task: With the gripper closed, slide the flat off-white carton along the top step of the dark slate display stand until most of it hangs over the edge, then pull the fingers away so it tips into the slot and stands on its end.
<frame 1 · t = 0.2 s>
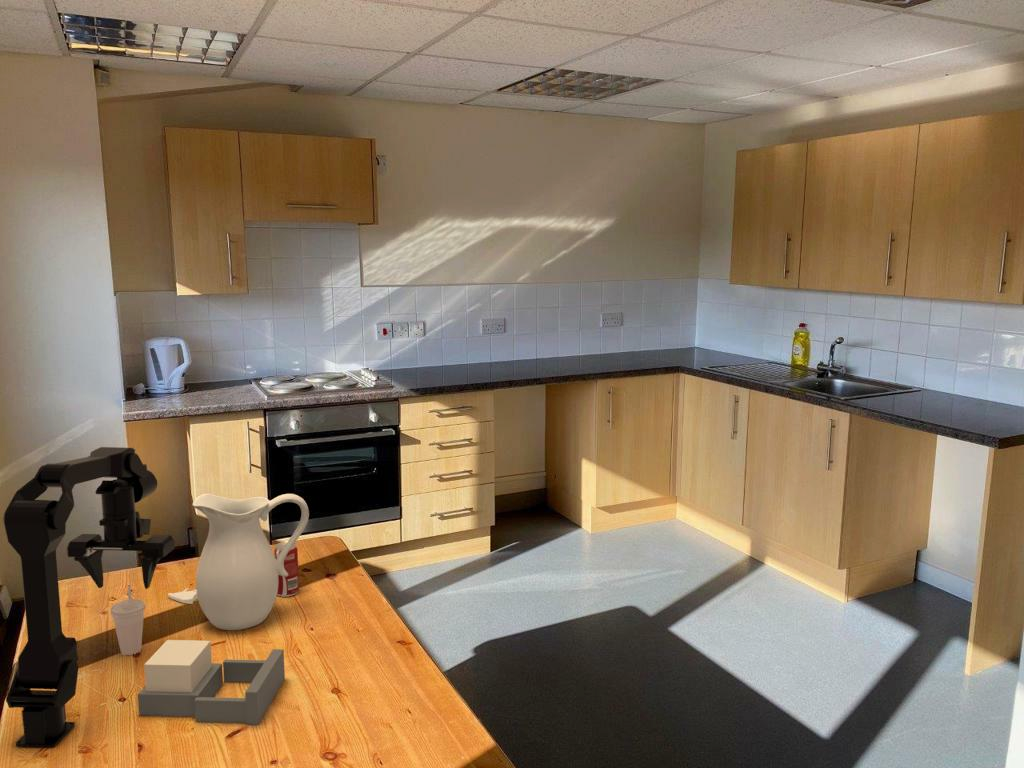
hand: (124, 587, 160), 14 cm above the table, tool pointing down, fingers open, 9 cm apart
smoothie: (131, 652, 164), on the table
pitcher: (256, 618, 179), on the table
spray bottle: (222, 587, 197), on the table
display stand: (200, 699, 147), on the table
soda can: (287, 594, 192), on the table
carton: (179, 678, 146), point 4 cm above the table, touching display stand
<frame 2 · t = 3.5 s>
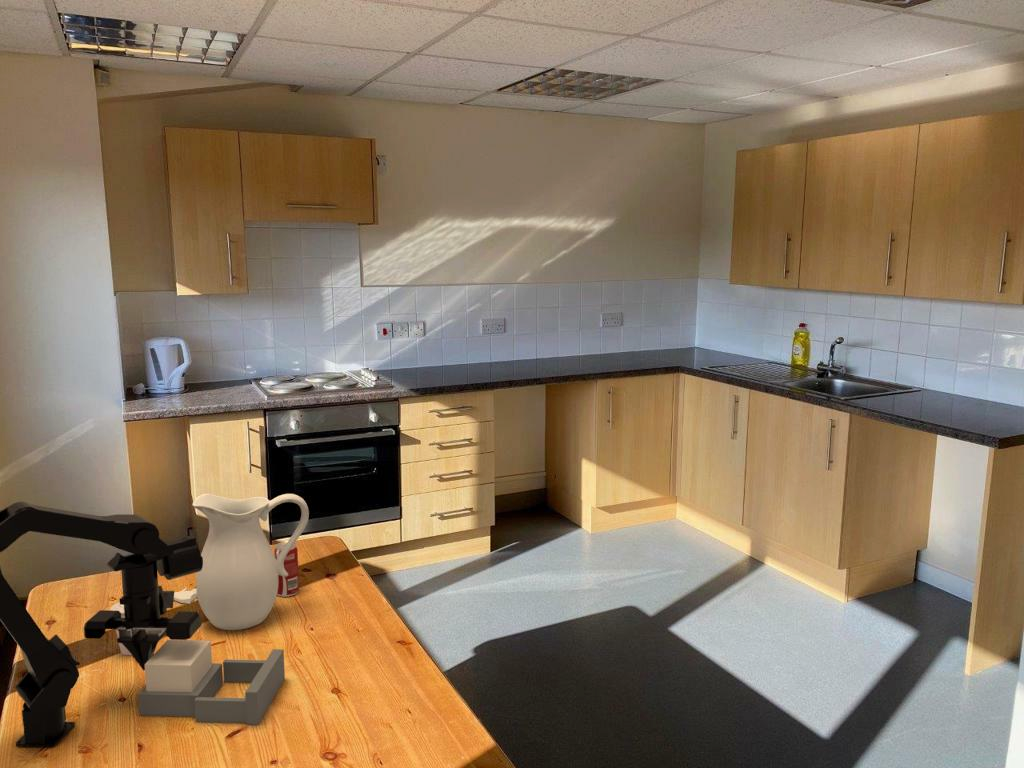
hand: (146, 669, 146), 6 cm above the table, tool pointing down, fingers closed
carton: (180, 678, 146), point 4 cm above the table, touching display stand, gripper
everything else where it was.
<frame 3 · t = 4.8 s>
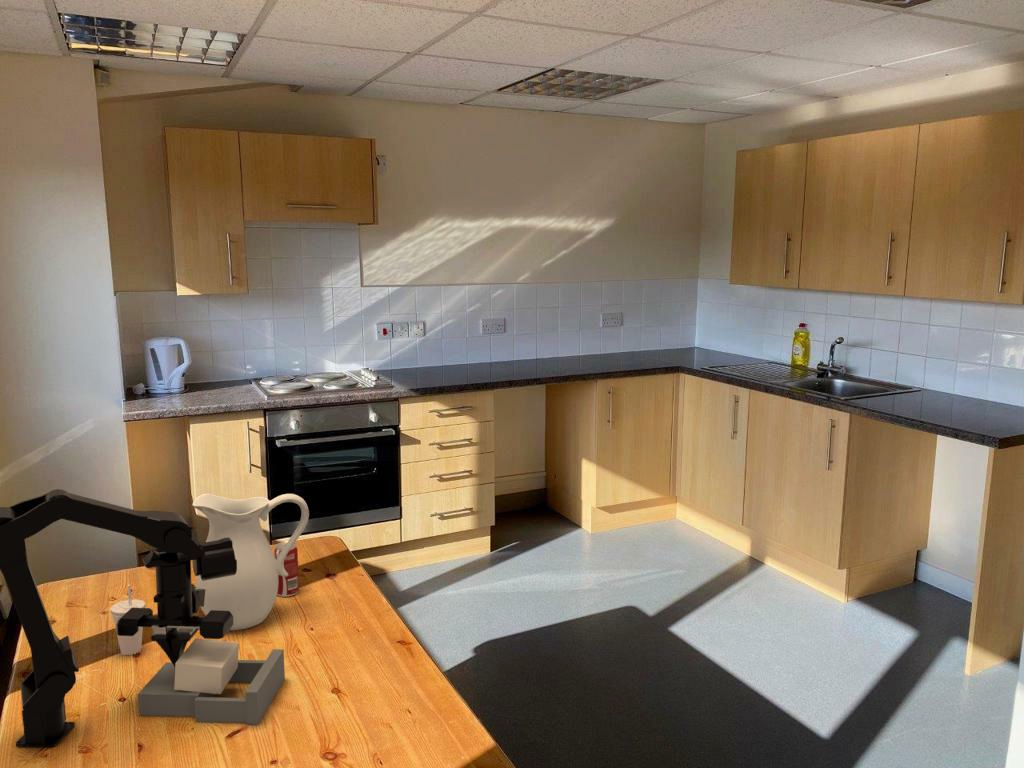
hand: (177, 667, 146), 6 cm above the table, tool pointing down, fingers closed
carton: (206, 678, 146), point 4 cm above the table, tilted 6°, touching display stand, gripper
everything else where it was.
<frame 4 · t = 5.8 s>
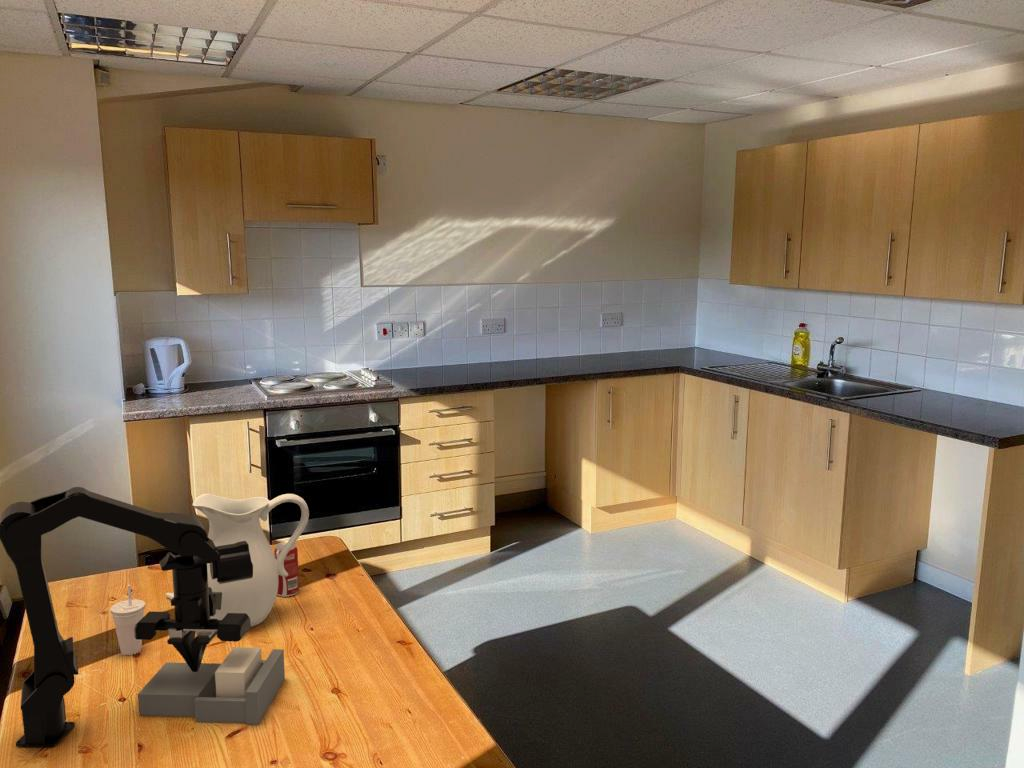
hand: (195, 670, 146), 6 cm above the table, tool pointing down, fingers closed
carton: (225, 680, 146), point 4 cm above the table, tilted 90°
everything else where it was.
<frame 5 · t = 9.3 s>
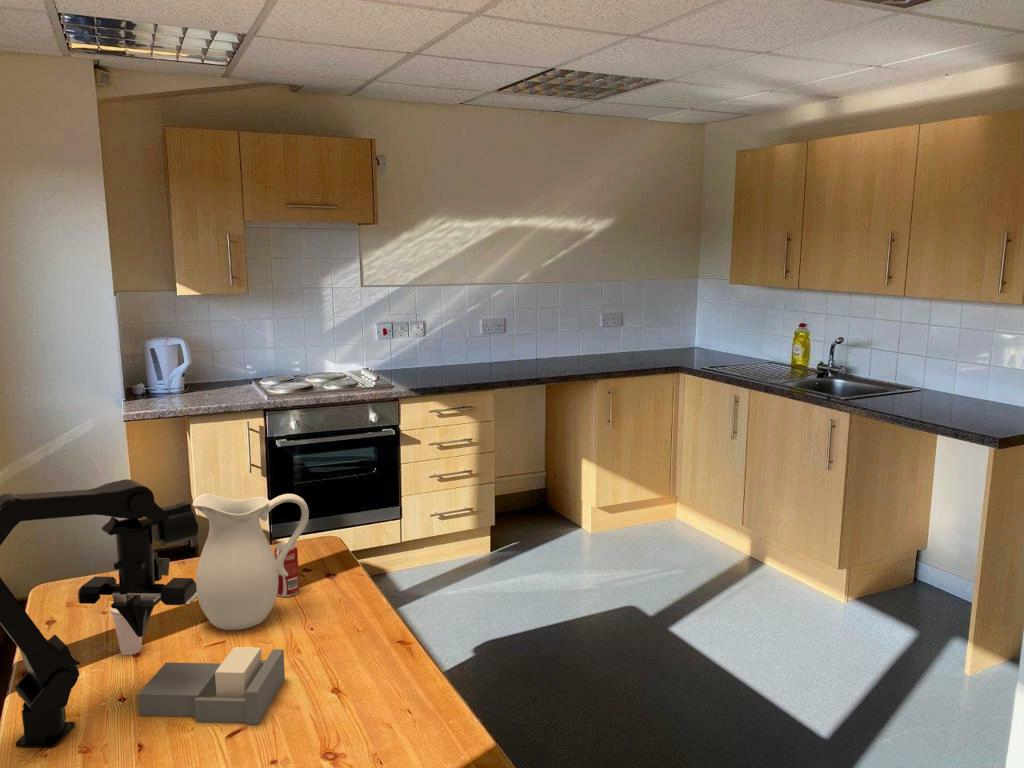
hand: (141, 635, 145), 12 cm above the table, tool pointing down, fingers closed
nothing on the table moved.
at the end: display stand 0.0 cm off-centre on the display stand, point 0.0 cm above the display stand's base; carton tilted 90°; carton touching table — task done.
